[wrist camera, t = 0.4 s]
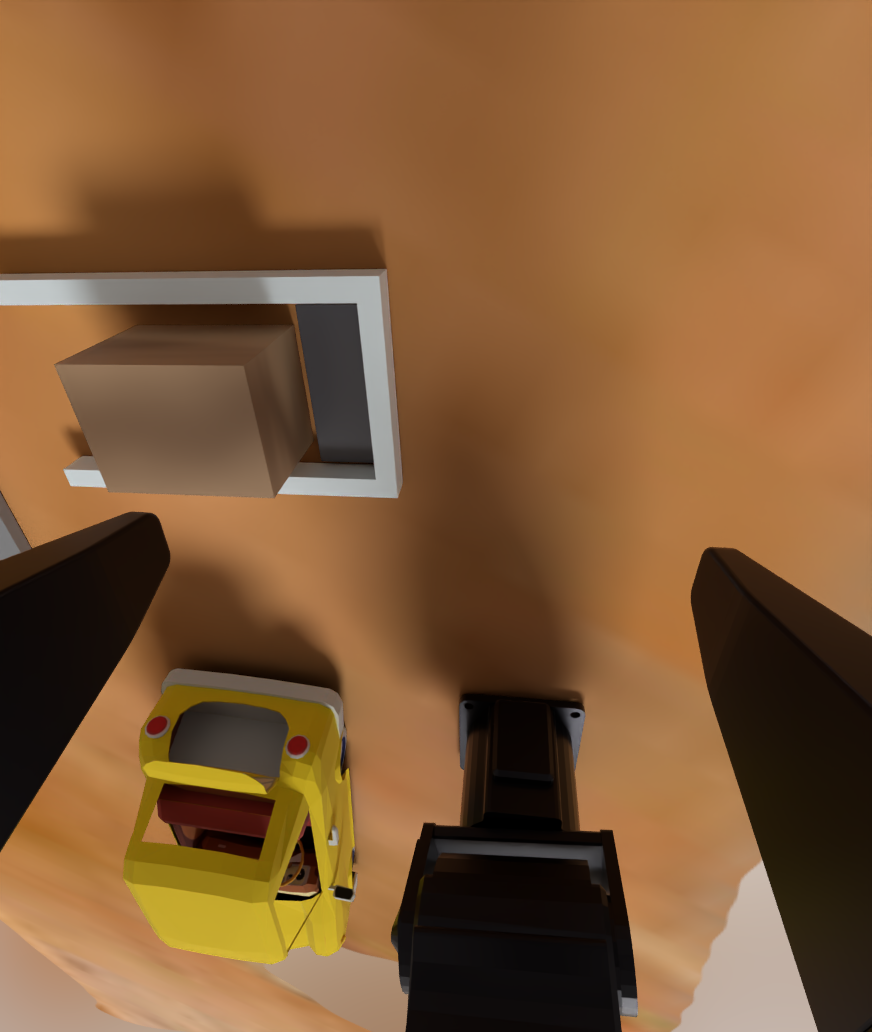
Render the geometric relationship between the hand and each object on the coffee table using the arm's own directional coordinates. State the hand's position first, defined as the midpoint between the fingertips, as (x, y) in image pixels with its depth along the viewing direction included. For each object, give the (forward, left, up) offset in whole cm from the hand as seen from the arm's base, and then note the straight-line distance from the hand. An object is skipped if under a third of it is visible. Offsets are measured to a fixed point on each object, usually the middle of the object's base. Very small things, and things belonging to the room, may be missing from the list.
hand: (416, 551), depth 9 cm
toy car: (-29, +12, -12) cm, 34 cm away
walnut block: (-2, +9, -12) cm, 15 cm away
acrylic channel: (-2, +10, -12) cm, 16 cm away
